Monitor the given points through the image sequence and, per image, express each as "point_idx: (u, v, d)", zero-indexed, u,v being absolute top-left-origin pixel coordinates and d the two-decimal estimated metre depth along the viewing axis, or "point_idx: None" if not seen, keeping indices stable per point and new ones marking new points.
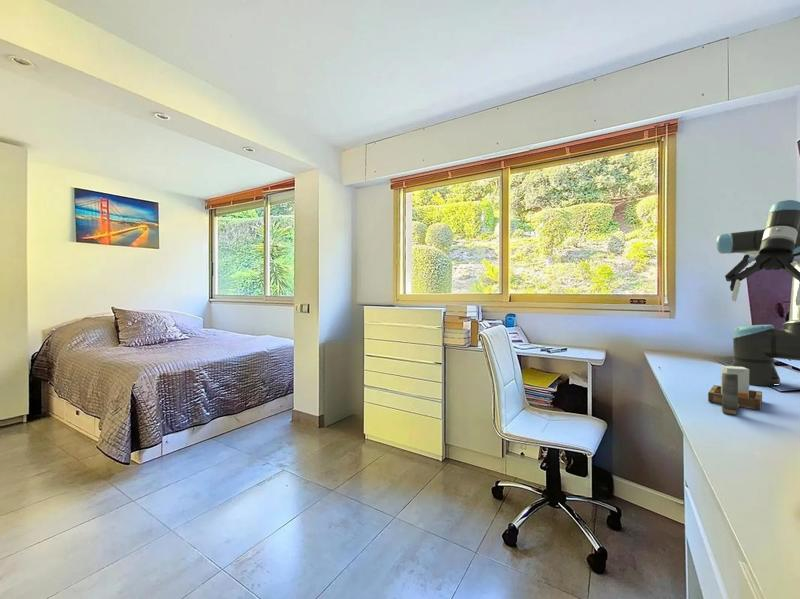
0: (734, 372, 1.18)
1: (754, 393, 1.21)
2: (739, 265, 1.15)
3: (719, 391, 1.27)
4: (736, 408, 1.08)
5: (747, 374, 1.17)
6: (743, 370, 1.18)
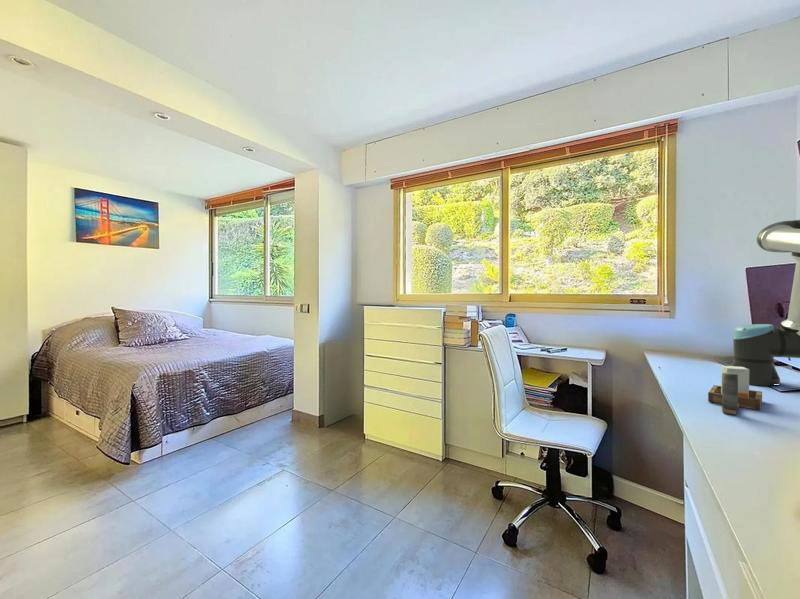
0: (734, 372, 1.18)
1: (754, 393, 1.21)
2: None
3: (719, 391, 1.27)
4: (736, 408, 1.08)
5: (747, 374, 1.17)
6: (743, 370, 1.18)
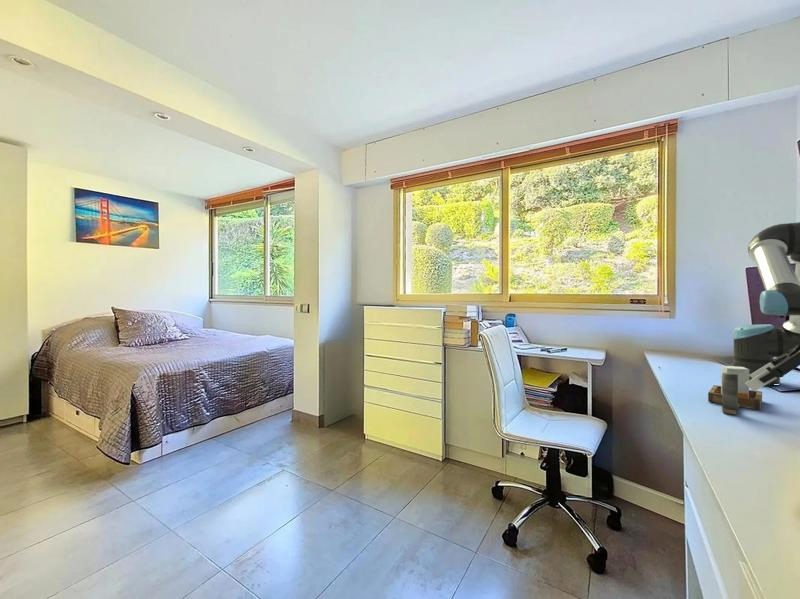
0: (734, 372, 1.18)
1: (754, 393, 1.21)
2: (798, 365, 0.94)
3: (719, 391, 1.27)
4: (736, 408, 1.08)
5: (747, 374, 1.17)
6: (743, 370, 1.17)
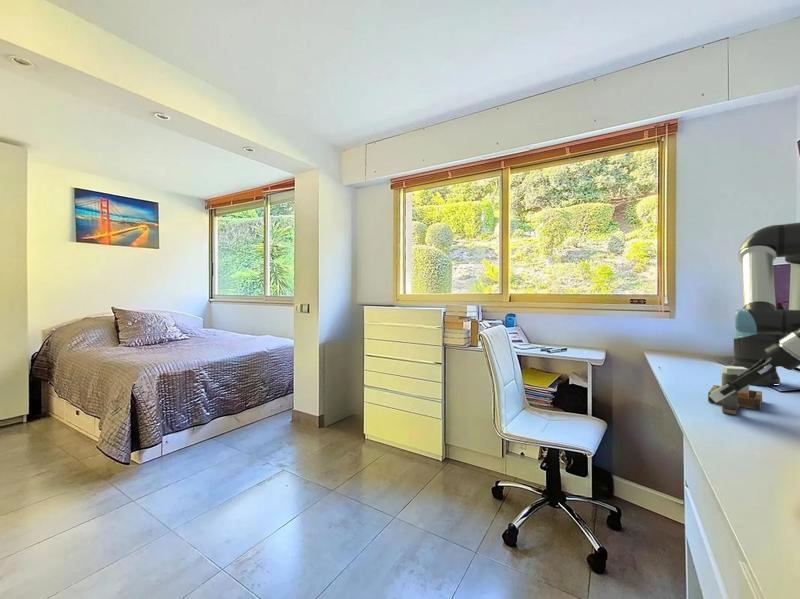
0: (734, 372, 1.18)
1: (754, 393, 1.21)
2: (755, 380, 1.02)
3: None
4: (736, 408, 1.08)
5: None
6: (743, 370, 1.18)
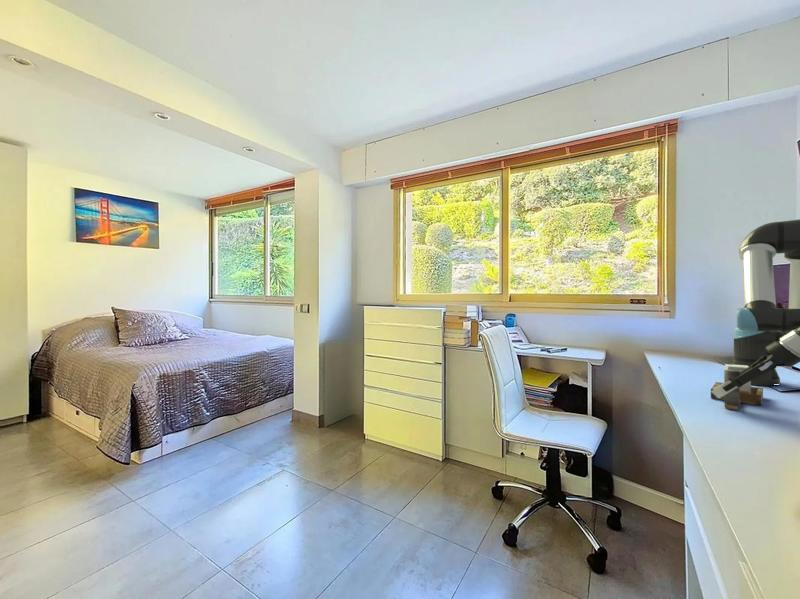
0: None
1: (755, 389, 1.25)
2: (756, 377, 1.06)
3: None
4: (738, 404, 1.12)
5: None
6: (744, 368, 1.20)
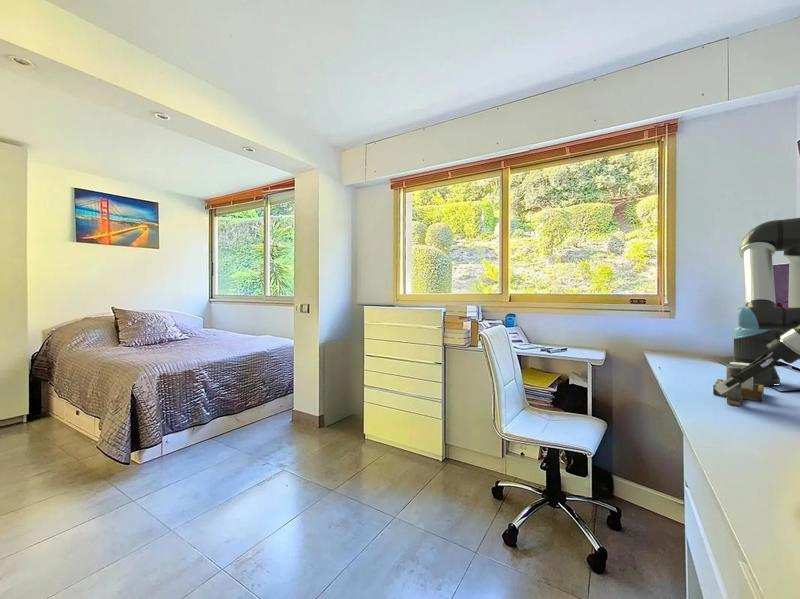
0: None
1: (756, 386, 1.29)
2: (757, 373, 1.10)
3: None
4: (740, 399, 1.16)
5: None
6: None
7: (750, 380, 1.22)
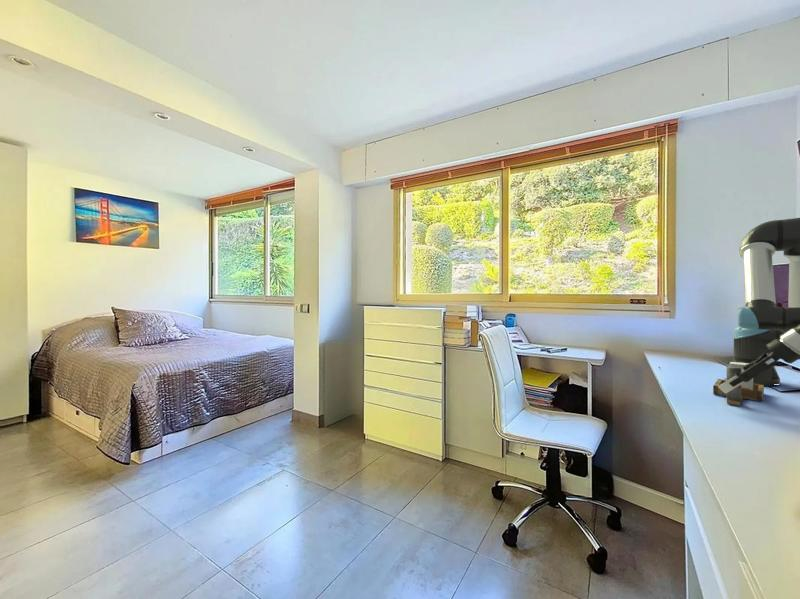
0: None
1: (756, 386, 1.29)
2: (762, 371, 1.08)
3: None
4: (740, 399, 1.16)
5: None
6: None
7: (750, 380, 1.22)
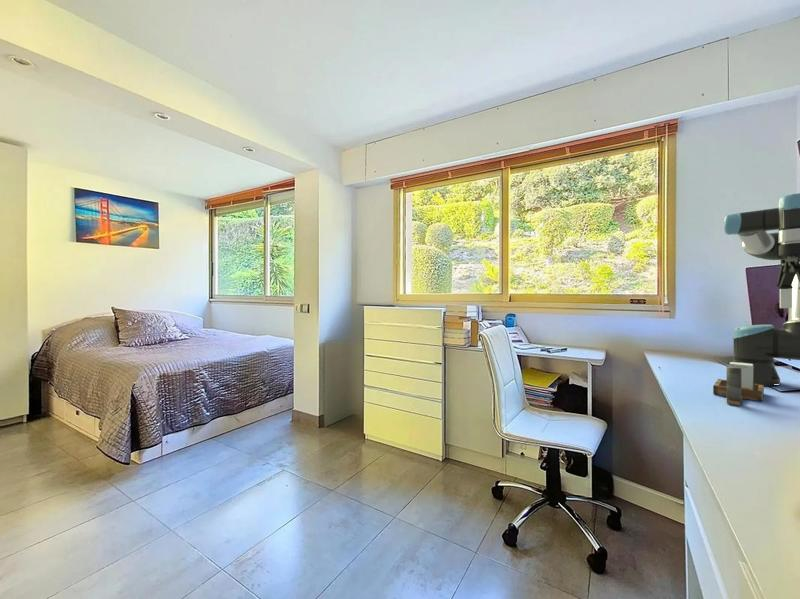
0: None
1: (756, 386, 1.29)
2: None
3: (723, 385, 1.35)
4: (740, 399, 1.16)
5: (750, 370, 1.22)
6: (746, 366, 1.23)
7: (750, 380, 1.22)
